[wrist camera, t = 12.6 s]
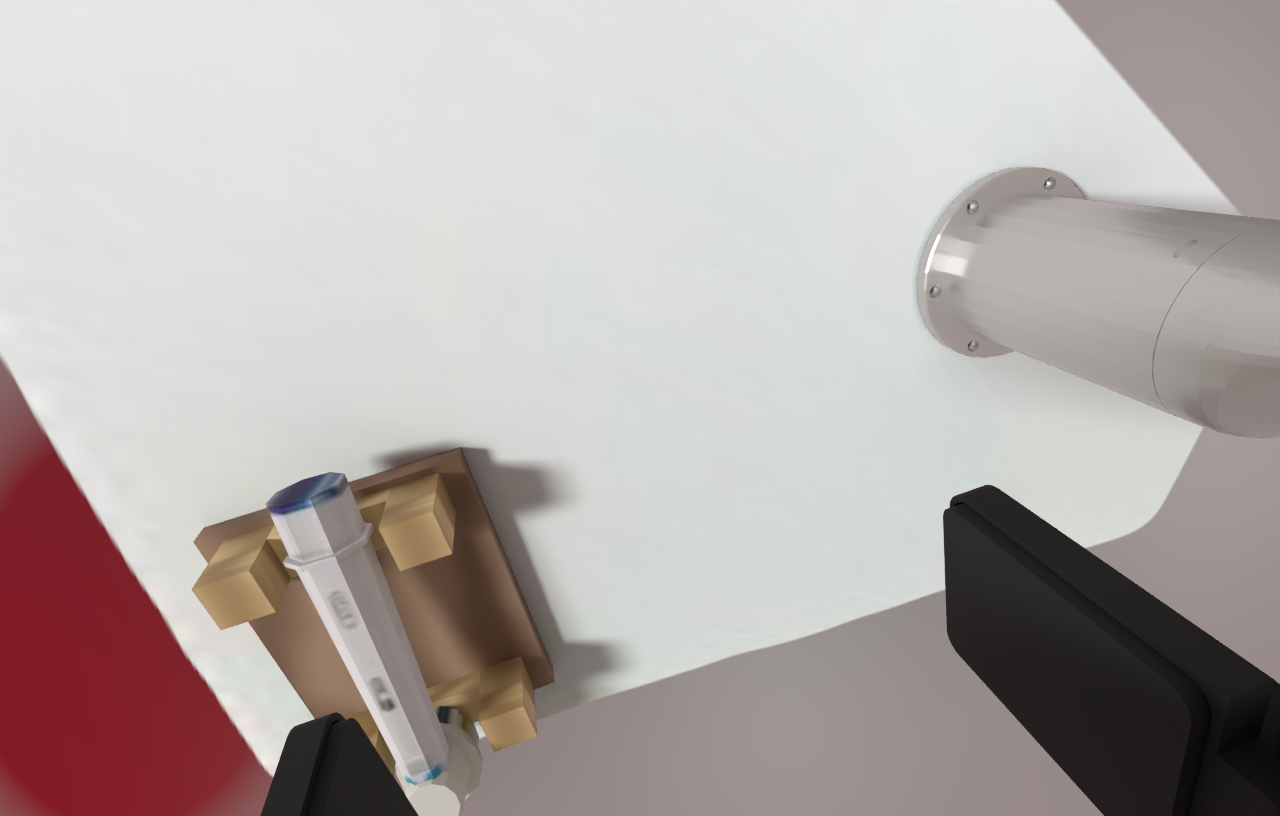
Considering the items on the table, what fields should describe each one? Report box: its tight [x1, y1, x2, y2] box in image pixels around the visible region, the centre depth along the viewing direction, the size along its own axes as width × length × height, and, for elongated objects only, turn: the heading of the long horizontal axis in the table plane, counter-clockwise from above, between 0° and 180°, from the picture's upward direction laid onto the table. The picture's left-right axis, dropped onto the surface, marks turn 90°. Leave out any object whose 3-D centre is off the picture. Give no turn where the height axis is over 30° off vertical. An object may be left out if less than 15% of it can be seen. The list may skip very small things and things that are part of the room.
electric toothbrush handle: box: [266, 472, 483, 816], centre depth 39 cm, size 5×7×25 cm
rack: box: [192, 447, 554, 777], centre depth 41 cm, size 16×20×6 cm
